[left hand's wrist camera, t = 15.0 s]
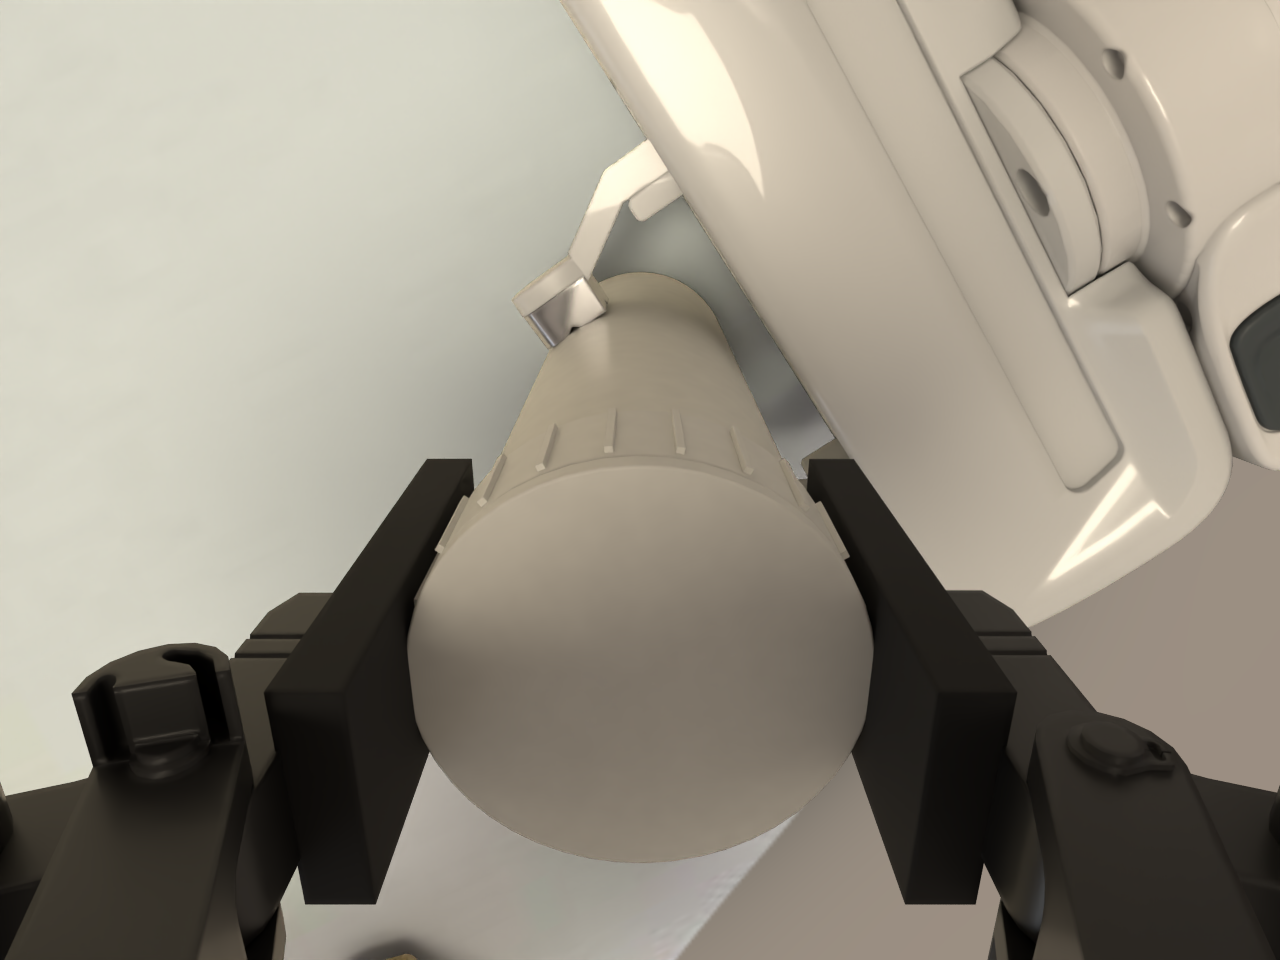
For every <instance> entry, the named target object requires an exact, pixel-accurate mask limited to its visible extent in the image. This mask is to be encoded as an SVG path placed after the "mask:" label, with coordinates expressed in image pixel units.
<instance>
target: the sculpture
mask: <svg viewBox="0 0 1280 960" xmlns="http://www.w3.org/2000/svg"><path fill="white" fill-rule="evenodd" d="M386 960H417V958H416V957H414V956H413V955H411V954H403V955H399V956H396V957H392V958H388V959H386Z"/></svg>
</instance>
